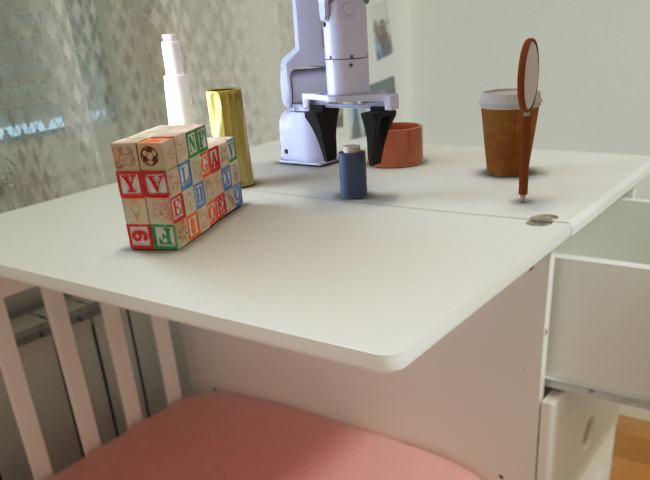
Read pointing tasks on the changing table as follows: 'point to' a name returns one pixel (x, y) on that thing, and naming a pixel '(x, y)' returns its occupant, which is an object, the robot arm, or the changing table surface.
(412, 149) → the cup
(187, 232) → the stack of blocks
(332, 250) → the changing table surface
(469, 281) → the changing table surface
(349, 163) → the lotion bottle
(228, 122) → the vase
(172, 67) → the cosmetic bottle
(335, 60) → the robot arm
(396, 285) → the changing table surface
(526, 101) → the magnifying glass
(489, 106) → the disposable coffee cup
